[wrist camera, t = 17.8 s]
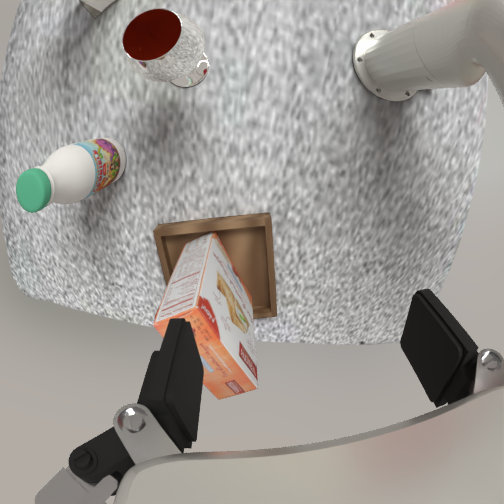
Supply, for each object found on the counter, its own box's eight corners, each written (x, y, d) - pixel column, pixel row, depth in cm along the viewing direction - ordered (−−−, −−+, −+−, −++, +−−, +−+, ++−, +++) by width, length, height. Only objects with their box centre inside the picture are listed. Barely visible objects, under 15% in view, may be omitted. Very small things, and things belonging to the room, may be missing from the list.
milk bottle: (92, 188, 41) (18, 233, 23) (83, 144, 38) (0, 168, 20) (132, 177, 41) (63, 220, 23) (122, 131, 38) (44, 144, 20)
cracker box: (254, 294, 50) (260, 391, 31) (223, 306, 51) (216, 402, 32) (216, 227, 44) (199, 308, 25) (184, 242, 45) (148, 326, 26)
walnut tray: (269, 212, 44) (271, 218, 42) (275, 306, 52) (277, 316, 49) (158, 224, 45) (153, 231, 42) (180, 313, 52) (177, 323, 50)
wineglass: (224, 53, 34) (212, 8, 17) (200, 100, 37) (171, 84, 20) (175, 37, 32) (135, -8, 16) (152, 83, 35) (96, 64, 19)
